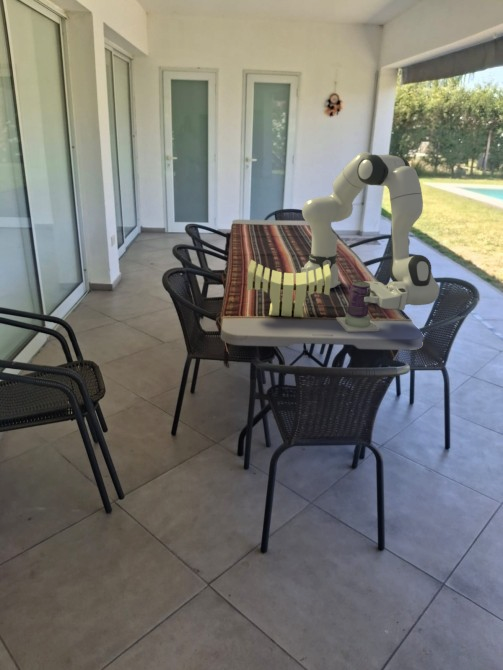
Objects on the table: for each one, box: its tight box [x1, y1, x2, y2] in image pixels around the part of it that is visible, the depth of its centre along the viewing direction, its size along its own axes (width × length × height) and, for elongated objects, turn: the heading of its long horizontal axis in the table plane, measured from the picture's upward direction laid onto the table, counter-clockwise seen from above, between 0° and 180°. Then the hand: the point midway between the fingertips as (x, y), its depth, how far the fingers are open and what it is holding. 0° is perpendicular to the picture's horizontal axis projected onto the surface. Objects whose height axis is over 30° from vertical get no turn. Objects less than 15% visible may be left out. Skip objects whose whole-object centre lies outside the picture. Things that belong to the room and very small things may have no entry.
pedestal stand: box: [335, 311, 380, 333], centre depth 178 cm, size 12×12×4 cm
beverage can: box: [347, 280, 371, 318], centre depth 175 cm, size 7×7×12 cm
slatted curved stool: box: [246, 259, 331, 318], centre depth 186 cm, size 30×16×18 cm, turn 85°
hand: (358, 294), depth 174 cm, fingers open, 8 cm apart
